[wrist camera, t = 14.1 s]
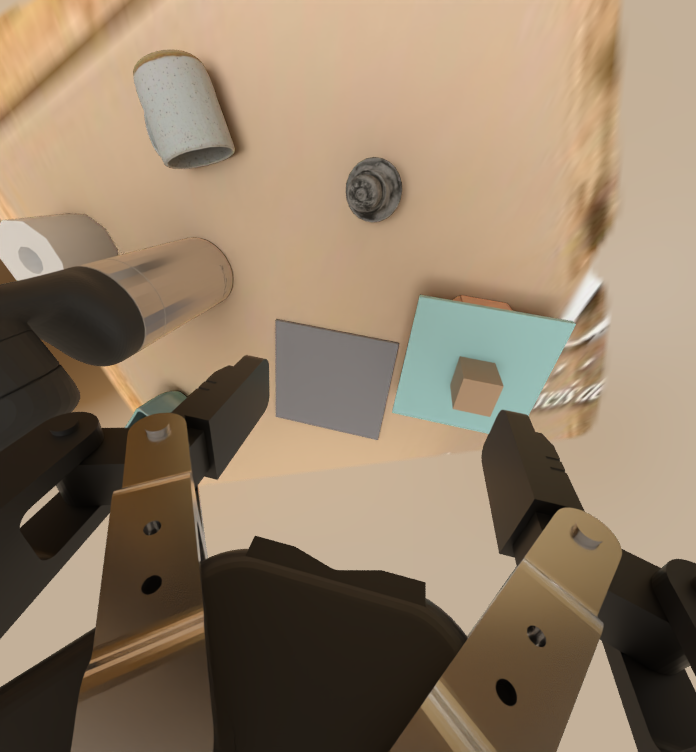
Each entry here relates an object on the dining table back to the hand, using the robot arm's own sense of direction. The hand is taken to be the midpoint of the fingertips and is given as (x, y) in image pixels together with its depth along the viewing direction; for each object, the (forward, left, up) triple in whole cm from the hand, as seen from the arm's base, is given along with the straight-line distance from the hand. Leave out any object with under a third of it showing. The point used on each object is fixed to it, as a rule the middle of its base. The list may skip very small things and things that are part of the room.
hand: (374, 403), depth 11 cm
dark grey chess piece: (-5, +5, -33) cm, 34 cm away
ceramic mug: (-27, +9, -33) cm, 44 cm away
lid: (+10, -12, -27) cm, 31 cm away
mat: (-8, -22, -33) cm, 41 cm away
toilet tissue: (-45, -9, -33) cm, 57 cm away
